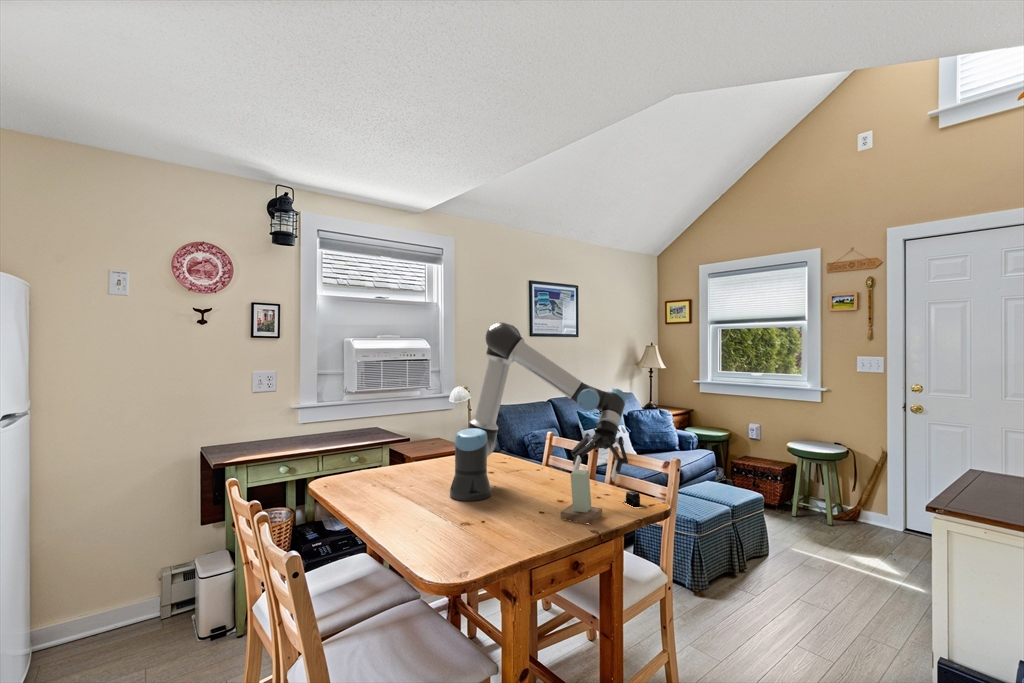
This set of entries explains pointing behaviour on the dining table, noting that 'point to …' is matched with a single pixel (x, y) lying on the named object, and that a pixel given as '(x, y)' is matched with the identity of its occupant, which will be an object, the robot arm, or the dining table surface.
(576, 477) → the pillar
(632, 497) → the black boxy device
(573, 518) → the slab
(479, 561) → the dining table surface
